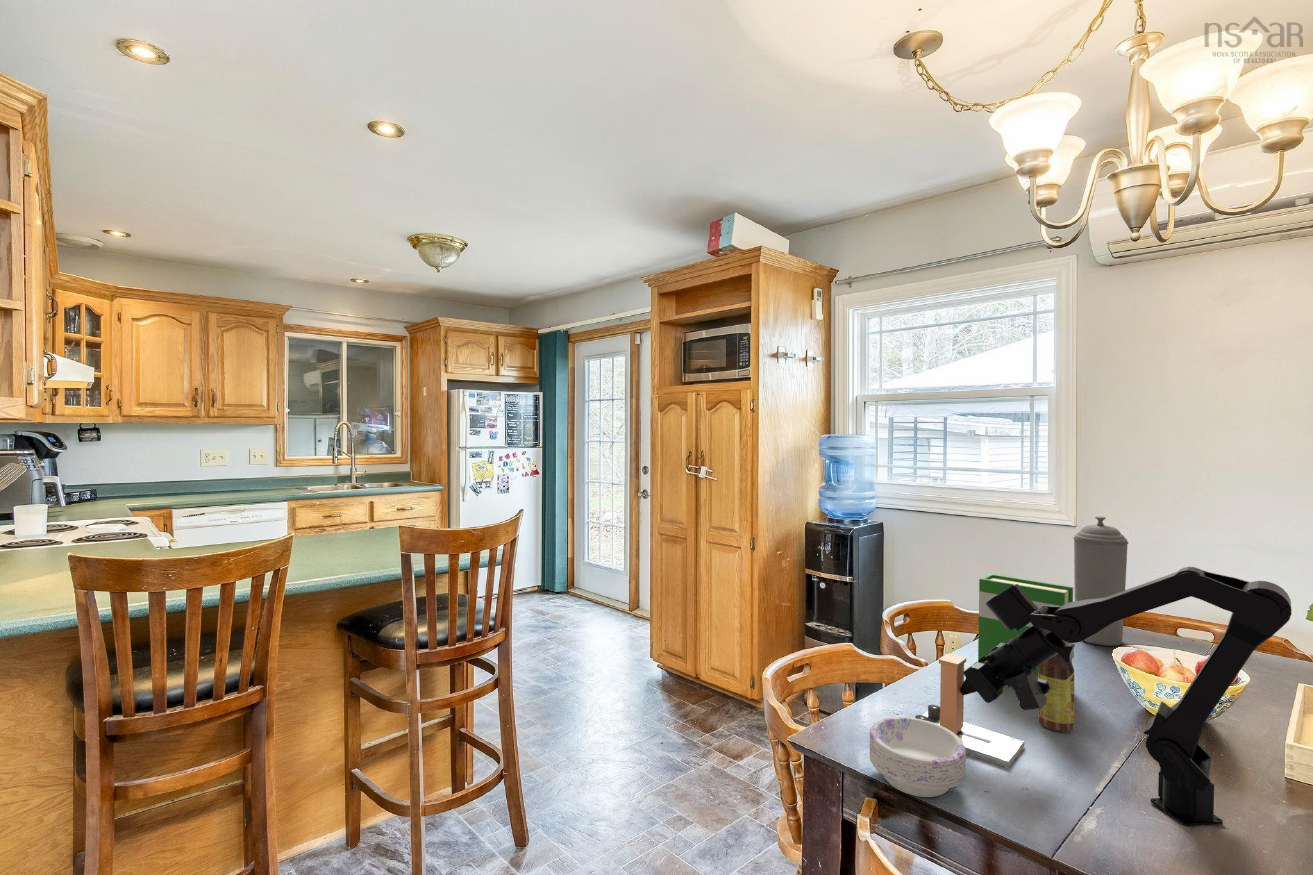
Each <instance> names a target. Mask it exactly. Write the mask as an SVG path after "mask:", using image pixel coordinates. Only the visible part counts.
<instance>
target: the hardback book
mask: <svg viewBox="0 0 1313 875" xmlns="http://www.w3.org/2000/svg"><path fill="white" fill-rule="evenodd" d="M978 580H979V581H978V582H979V583H978V586H979V587H978V588H979V589H978V637H977V638H978V642H977V643H978V644H977V645H978V648H977V649H978V650H977V653H978V654H977V655H978V656H977V661H978V660H979V659H981V658H982V657H983V656H984V657H986V656H988V655H989V654H990V653H991V651H990V650H991V649H992V648H994V647H995V646H997V645H998V644H1000V643H1005V644H1006V643H1007V642H1008V641H1009V640H1011V639H1012V638H1014V637H1016V636H1018V635H1019V634H1021V633H1022V632H1024V631H1025V630H1027V629H1029V628H1030V627H1032V626H1033V625H1032V623H1031V622H1030V623H1029V624H1027V625H1026V626H1024V627H1023V628H1021V629H1020V630H1018V631H1016V630H1015V628H1014V629H1013V630H1010V629H1006V628H1005V626H1004V625H1003V624H1002V623H1001V622H1000V621H999V620H998V618H997V617H996V616H995V615H994V614H993V613H992V612H991V610H990V609H989V608H988V607H987V606H986V605H985V603H986V602H988V601H989V600H990V599H992V598H993V597H995V596H996V595H998V594H999V593H1001V592H1003V591H1004V590H1005V591H1006V590H1007V589H1008V588H1010V587H1011V586H1013V585H1014V584H1018V585H1019V586H1020V587H1021V588H1022V589H1023V591H1024V593H1025V594H1026V595H1027V596H1028V597H1029V598H1030V600H1031V601H1032V602H1033V603H1034V604H1035V605H1036V606H1037V607H1038V608H1039V607H1040V606H1042V605H1044V606H1060V607H1061V606H1063V605H1064V604H1066V603H1070V602H1074V587H1073V586H1069V585H1064V584H1063V585H1062V584H1057V583H1051V582H1050V583H1049V582H1045V581H1038V580H1032V579H1025V578H1019V577H1013V576H1006V575H1001V574H993V573H989V574H987V575H985V576H983V577H980V578H979V579H978ZM1067 643H1068V642H1067ZM1070 644H1073V643H1070ZM1071 662H1072V663H1073V659H1072V660H1071ZM1033 672H1034V674H1035V676H1038V672H1039V666H1038V667H1037V668H1036V669H1035V670H1033ZM1005 687H1008V686H1007V685H1006V686H1005ZM1010 688H1013V686H1011V687H1010Z"/></svg>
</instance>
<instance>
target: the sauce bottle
mask: <svg viewBox="0 0 1313 875" xmlns="http://www.w3.org/2000/svg"><path fill="white" fill-rule="evenodd" d="M1065 642H1066V641H1065ZM1038 678H1040V679H1043V680H1047V681H1048V682H1049V685H1050V687H1051V689H1050V690H1049V691H1048V692H1047V693H1046V694H1045V696H1047V699H1046V704H1045V705H1044V707H1043V708H1042V709H1037V710H1038V714H1037V715H1038V717H1039V718H1038V721H1039V723H1040V725H1042V726H1043V727H1044V728H1045V729H1048V730H1051V731H1055V732H1060V733H1061V732H1062V733H1068V732H1071V731H1073V729H1074V725H1075V724H1074V723H1075V701H1076V700H1075V691H1076V690H1075V689H1076V688H1075V669H1074V666H1073V661H1072V662H1071V661H1070V662H1069V663H1067V662H1065V660H1064V659H1063V658H1062V657H1061V656H1060V655H1059V654H1057V655H1055V656H1054V657H1052V658H1050V659H1049V660H1047V661H1045V662H1044V663H1042V664H1040V665H1039V672H1038Z"/></svg>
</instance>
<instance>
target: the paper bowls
mask: <svg viewBox="0 0 1313 875" xmlns="http://www.w3.org/2000/svg"><path fill="white" fill-rule="evenodd" d="M966 755H967V754H966V748H965V745H964V743H963V741H962V740H961V739H960V738H959V737H958V736H957V735H956V734H955V733H953V732H952V731H950V730H948V729H947V728H945V727H943V726H940V725H938V724H935V723H932V722H929V721H926V720H921V719H916V718H915V717H907V716H906V717H905V716H893V717H886V718H883V719H879V720H878V721H876V722H874V723H873V724H872V726H871V727H870V731H869V761H870V762H871V764H872V766H873V768H874V769H876V771H878V772H879V774H881V775H882V776H883V777H884V778H885V780H886V782H888V783H889V785H891V786H892V787H894V788H895V790H898V791H900V792H902V793H905V794H907V795H910V796H914V797H920V798H935V797H940V796H942V795H944V794H946V792H948V791H949V789H952V788H955V787H958V786H959V784H961V783H962V782H963V781H964V780H965V775H966V766H967V764H966V761H967V756H966Z"/></svg>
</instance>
